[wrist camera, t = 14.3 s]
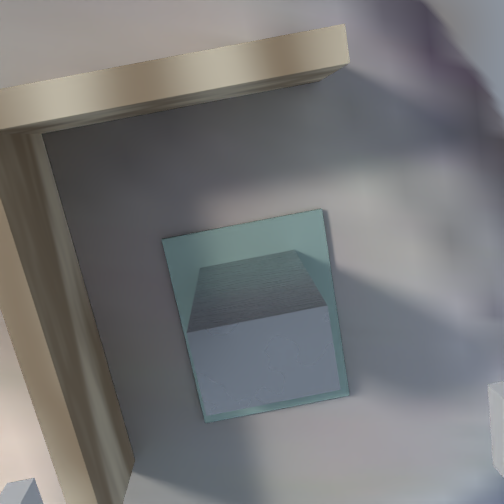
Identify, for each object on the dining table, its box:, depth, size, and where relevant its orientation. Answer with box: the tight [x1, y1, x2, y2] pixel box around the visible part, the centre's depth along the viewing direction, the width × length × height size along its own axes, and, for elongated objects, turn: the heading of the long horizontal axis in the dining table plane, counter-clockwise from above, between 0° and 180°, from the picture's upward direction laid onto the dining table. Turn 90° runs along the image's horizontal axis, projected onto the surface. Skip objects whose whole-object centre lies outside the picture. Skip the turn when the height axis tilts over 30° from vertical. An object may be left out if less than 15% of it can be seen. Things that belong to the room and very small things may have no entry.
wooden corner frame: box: [0, 24, 350, 504], centre depth 26 cm, size 18×24×7 cm
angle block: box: [187, 250, 341, 416], centre depth 26 cm, size 9×6×10 cm, turn 11°
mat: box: [162, 209, 349, 423], centre depth 31 cm, size 10×13×1 cm
